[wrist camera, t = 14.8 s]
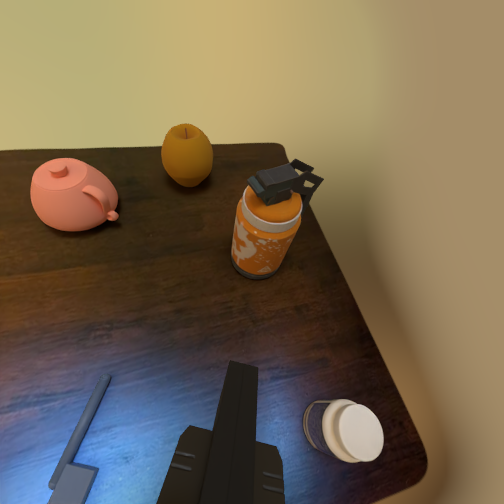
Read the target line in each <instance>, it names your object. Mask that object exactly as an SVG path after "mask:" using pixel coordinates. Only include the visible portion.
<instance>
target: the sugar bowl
mask: <svg viewBox="0 0 504 504" xmlns="http://www.w3.org/2000/svg"><path fill="white" fill-rule="evenodd" d="M31 201H32V205H33V207H34V209H35V211H36V213H37V215H38V216H39V218H40V219H41V220H42V221H43V222H44V223H45V224H47V225H49V226H50V227H53V228H55V229H58V230H63V231H83V230H88V229H91V228H94V227H96V226H98V225H100V224H102V223H103V222H104V221H106V220H107V219H108V220H110V221H115V220H117V219H118V217H119V215H118V213H116V212H115V209H116V207H117V203H118V194H117V191H116V189H115V187H114V186H113V184H112V183H111V182H110V181H109V179H108V178H107V177H106V176H105V175H103V174H102V173H101V172H100V171H98V170H97V169H95V168H93V167H92V166H90V165H88V164H86V163H84V162H82V161H79V160H76V159H72V158H59V159H54V160H51V161H48V162H46V163H44V164H43V165H41V166H40V167H39V168H38V169H37V170H36V171H35V173H34V175H33V178H32V183H31Z"/></svg>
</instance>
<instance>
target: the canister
mask: <svg viewBox="0 0 504 504" xmlns="http://www.w3.org/2000/svg"><path fill="white" fill-rule="evenodd" d="M295 168H296V169H298V170H300V171H302V172H304V173H302V174H301V175H300V176H299V175H298V173H297V172H296V171H295ZM313 169H314V168H313V167H311V166H309V165H307V164H305V163H303V162H301V161H299V160H297V159H294V160H293V161H292V162H291V163H289V164H286V165H283V166H279V167H275V168H272V169H268V170H261V171H258V172H257V173H256V178H255V177H254V176H251V177H250V178H249V179H247V183H248V185H249V186H248V187H247V188H246V189H245V191H244V194H243V197H242V198H241V199H240V201H239V203H238V206H237V212H236V219H235V227H234V234H233V242H232V249H231V260H232V263H233V266H234V267H235V269H236V270H237V271H238V272H239V273H241V274H242V275H244V276H245V277H248V278H251V279H264V278H268V277H270V276H272V275H273V274H274V273H275V272H276V271H277V270H278V268H279V266H280V264H281V262H282V260H283V258H284V256H285V254H286V252H287V250H288V248H289V246H290V244H291V242H292V240H293V238H294V236H295V234H296V232H297V230H298V228H299V226H300V223H301V218H302V216H303V214H304V211H305V209H306V208H307V206H308V204H309V201H310V199H311V197H312V195H313V193H314V192H315V190H316V189H317V188H318V186H319V185H320V184H321V182H322V181H323V180H324V179H323V178H321V177H319V176H317V175H314V174H312V173H311V172H312V171H313ZM305 180H307V181H309V182H311V183H313V184H315V185H314V186H313V187H305V186H304V182H305Z"/></svg>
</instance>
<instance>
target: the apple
mask: <svg viewBox="0 0 504 504" xmlns="http://www.w3.org/2000/svg"><path fill="white" fill-rule="evenodd" d="M161 155H162V162H163V166H164V168H165V170H166V172H167V173H168V174H169V175H170V176H171V177H172V178H173V179H174V180H175V181H176V182H177V183H178V184H180V185H182V186H185V187H194V186H196V185H198V184H199V183H201V182H202V181H203V180H204V179H205V178H206V177H207V176H208V175H209V174H210V172H211V169H212V162H213V151H212V146H211V143H210V141H209V140H208V138H207V136H206V135H205V134H204V133H203V132H202V131H201V130H200V129H199V128H197V127H195V126H193V125H191V124H180V125H177V126H174V127H172V128H171V129H170V130H169V131H168V133H167V134H166V137H165V140H164V142H163V145H162V151H161Z"/></svg>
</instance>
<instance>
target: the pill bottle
mask: <svg viewBox="0 0 504 504" xmlns="http://www.w3.org/2000/svg"><path fill="white" fill-rule="evenodd" d="M303 425H304V431H305V434H306V436H307V439H308V440H309V442H310V443H311V444H312V445H313V446H314V447H315V448H316V449H317V450H319V451H321V452H323V453H325V454H328V455H331V456H333V457H336V458H338V459H341V460H343V461H346V462H352V463H354V462H359V461H372V460H374V459H375V458H376V457H378V455H379V454H380V452H381V450H382V447H383V431H382V427H381V425H380V422H379V420H378V419H377V417H376V416H375V414H374V413H373V412H372V411H371V410H369V409H368V408H367V407H365V406H363V405H360V404H356V403H355V402H353V401H350V400H346V399H332V400H318V401H315V402H313V403H312V404H310V405H309V407H308V408H307V410H306V412H305V414H304V421H303Z"/></svg>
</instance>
